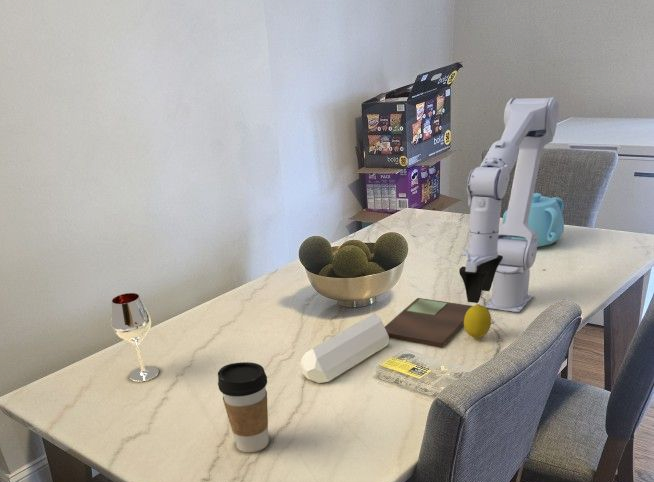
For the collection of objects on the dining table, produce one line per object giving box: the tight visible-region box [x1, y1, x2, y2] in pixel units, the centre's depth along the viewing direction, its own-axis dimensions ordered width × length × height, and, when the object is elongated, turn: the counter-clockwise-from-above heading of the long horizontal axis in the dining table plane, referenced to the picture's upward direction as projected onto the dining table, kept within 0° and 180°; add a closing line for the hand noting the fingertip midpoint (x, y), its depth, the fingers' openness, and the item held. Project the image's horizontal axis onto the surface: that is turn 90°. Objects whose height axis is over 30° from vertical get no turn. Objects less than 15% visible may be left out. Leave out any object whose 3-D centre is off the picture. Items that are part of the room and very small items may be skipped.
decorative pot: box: [501, 192, 565, 248], centre depth 189 cm, size 16×16×14 cm
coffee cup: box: [217, 361, 270, 453], centre depth 120 cm, size 8×8×15 cm
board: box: [384, 297, 473, 348], centre depth 157 cm, size 20×15×1 cm
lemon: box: [463, 303, 492, 340], centre depth 146 cm, size 6×6×8 cm
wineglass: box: [110, 292, 160, 383], centre depth 146 cm, size 8×8×18 cm
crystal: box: [299, 313, 390, 384], centre depth 145 cm, size 7×7×24 cm
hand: (478, 296), depth 143 cm, fingers open, 7 cm apart
